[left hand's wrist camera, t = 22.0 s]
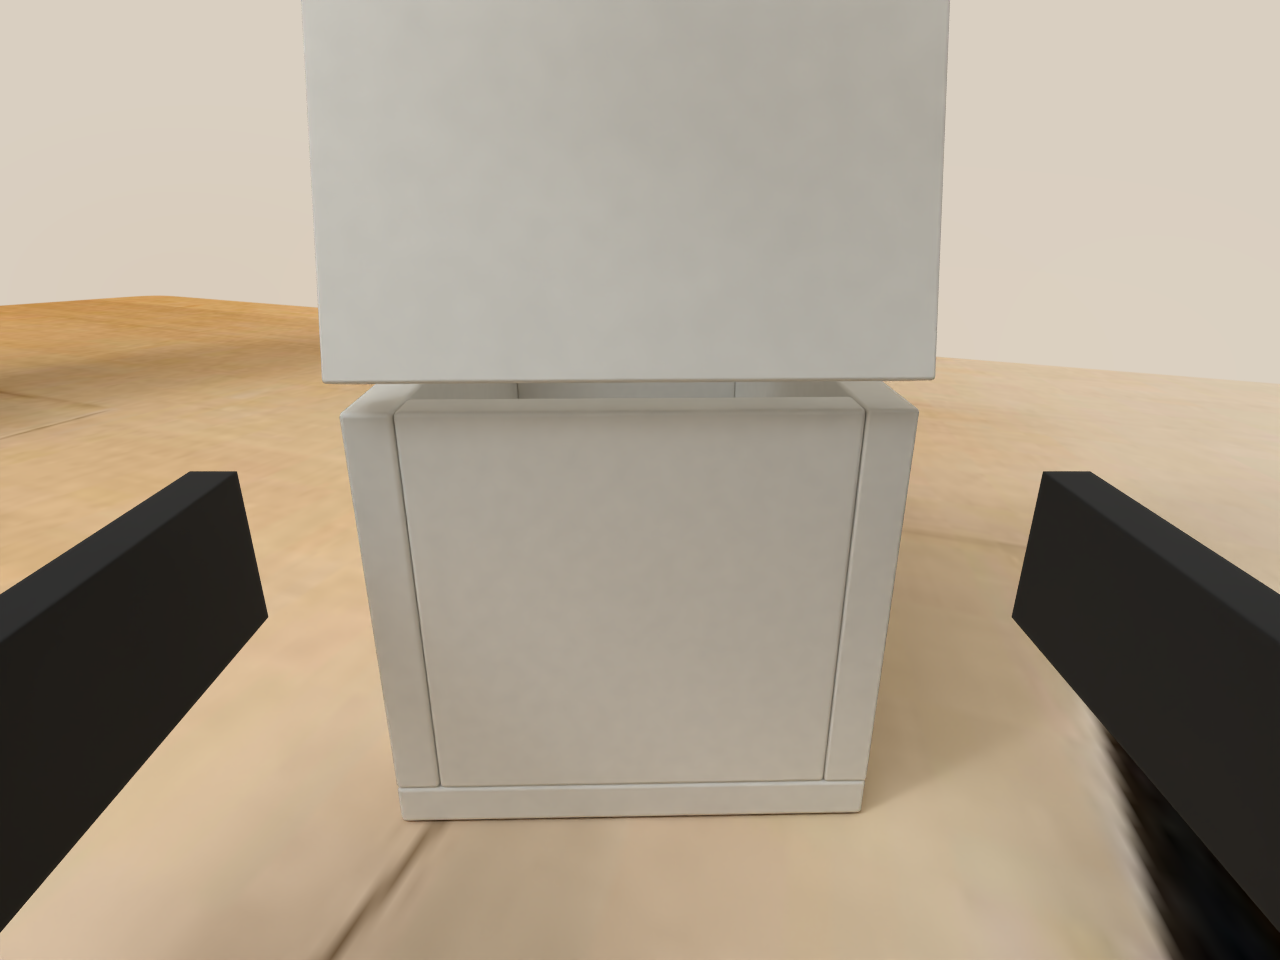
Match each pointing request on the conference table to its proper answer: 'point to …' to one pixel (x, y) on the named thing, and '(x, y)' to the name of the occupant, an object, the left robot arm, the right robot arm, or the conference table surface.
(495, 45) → the lid
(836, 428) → the chest
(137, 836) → the conference table surface
